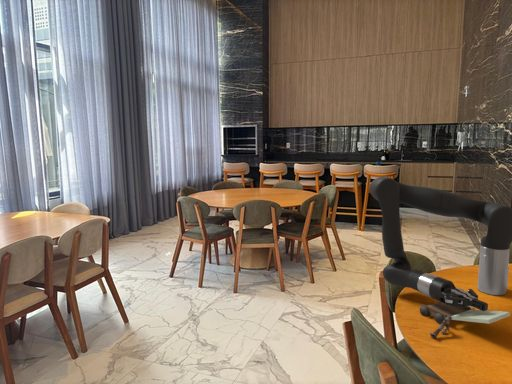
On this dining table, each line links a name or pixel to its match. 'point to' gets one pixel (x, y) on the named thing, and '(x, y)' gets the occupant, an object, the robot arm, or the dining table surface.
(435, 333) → the wooden post with brackets
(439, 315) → the flatbed
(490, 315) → the panel
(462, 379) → the dining table surface
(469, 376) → the dining table surface
